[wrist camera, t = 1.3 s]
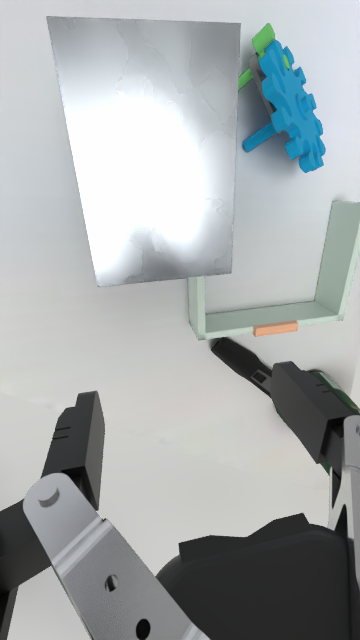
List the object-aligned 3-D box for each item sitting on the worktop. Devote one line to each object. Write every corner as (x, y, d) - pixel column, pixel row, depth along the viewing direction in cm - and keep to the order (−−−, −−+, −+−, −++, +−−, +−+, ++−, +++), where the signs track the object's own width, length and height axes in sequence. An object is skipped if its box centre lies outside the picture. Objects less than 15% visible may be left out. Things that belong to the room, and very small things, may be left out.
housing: (89, 113, 23) (46, 16, 10) (180, 112, 24) (247, 23, 11) (110, 242, 28) (98, 290, 15) (185, 236, 29) (236, 276, 16)
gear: (339, 149, 27) (317, 179, 21) (282, 180, 31) (250, 212, 25) (296, 19, 23) (254, 9, 17) (237, 75, 27) (187, 83, 21)
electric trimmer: (220, 324, 35) (229, 336, 32) (289, 379, 42) (301, 393, 39) (201, 345, 36) (207, 358, 33) (271, 396, 42) (282, 410, 40)
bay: (185, 211, 28) (197, 216, 23) (339, 201, 31) (377, 203, 26) (189, 323, 34) (199, 344, 29) (318, 306, 36) (347, 323, 32)
